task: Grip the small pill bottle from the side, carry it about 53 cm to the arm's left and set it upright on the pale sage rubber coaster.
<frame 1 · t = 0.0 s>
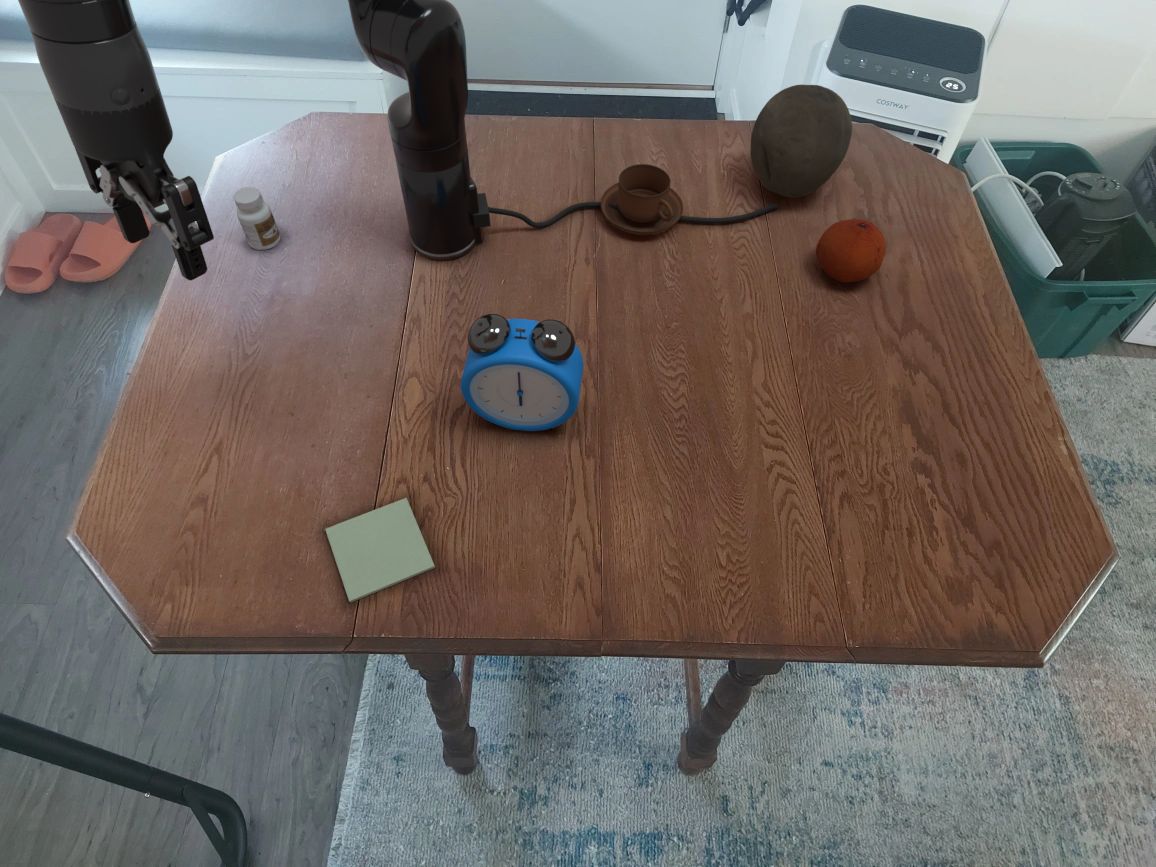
hand: (166, 256, 72), 22 cm above the table, tool pointing down, fingers open, 8 cm apart
cup and saucer: (640, 216, 111), on the table
pill bottle: (265, 241, 106), on the table
coaster: (379, 549, 79), on the table
alarm clock: (525, 413, 90), on the table
kiwi: (786, 186, 116), on the table
fruit: (841, 271, 106), on the table
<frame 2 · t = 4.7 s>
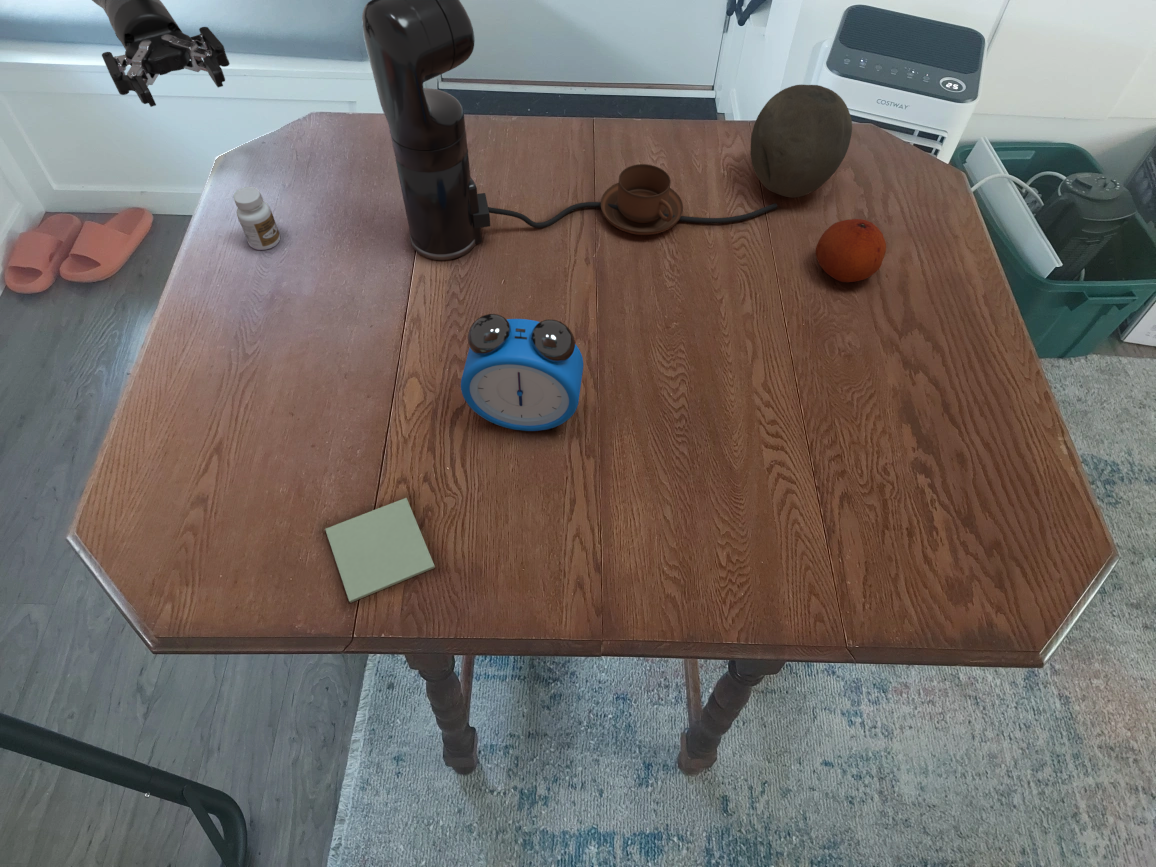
hand: (185, 89, 96), 18 cm above the table, tool horizontal, fingers open, 8 cm apart
nothing on the table moved.
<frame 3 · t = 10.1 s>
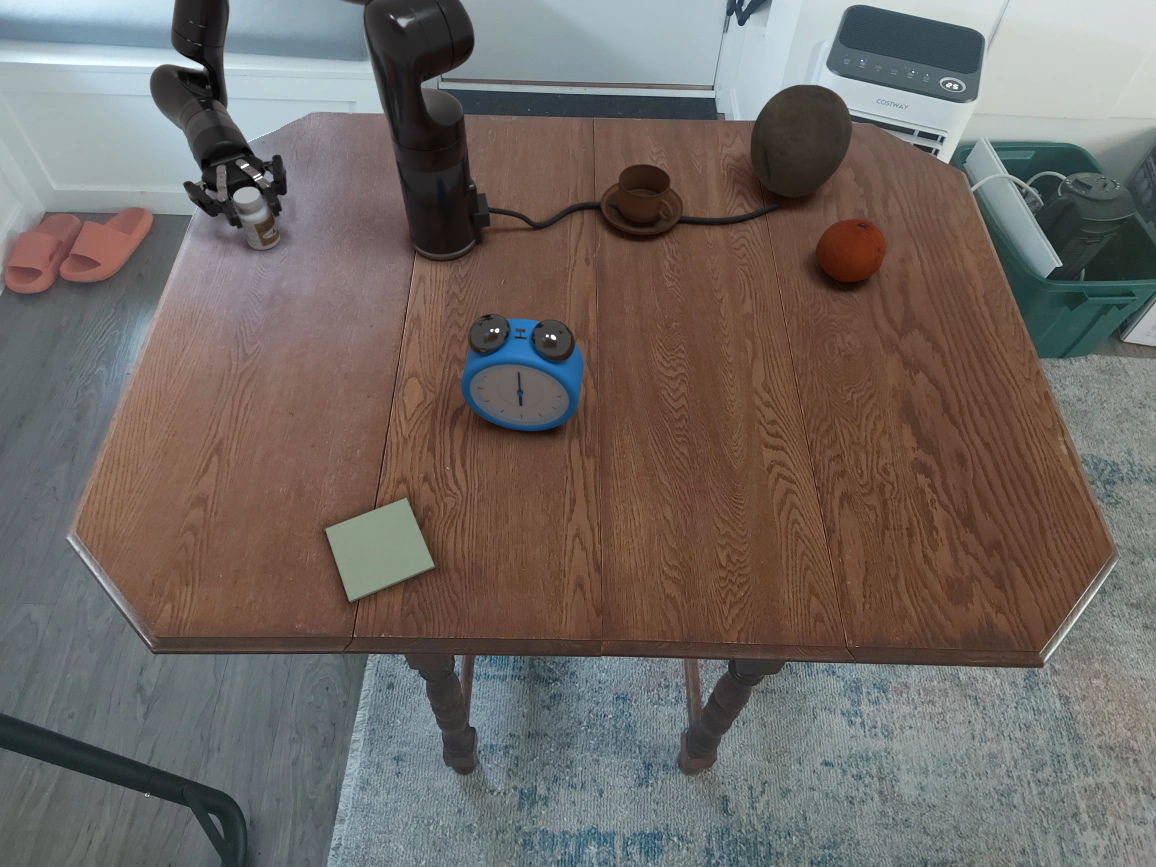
hand: (257, 216, 100), 6 cm above the table, tool horizontal, fingers closed on pill bottle, 4 cm apart
pill bottle: (265, 241, 106), on the table, touching gripper
everything else where it was.
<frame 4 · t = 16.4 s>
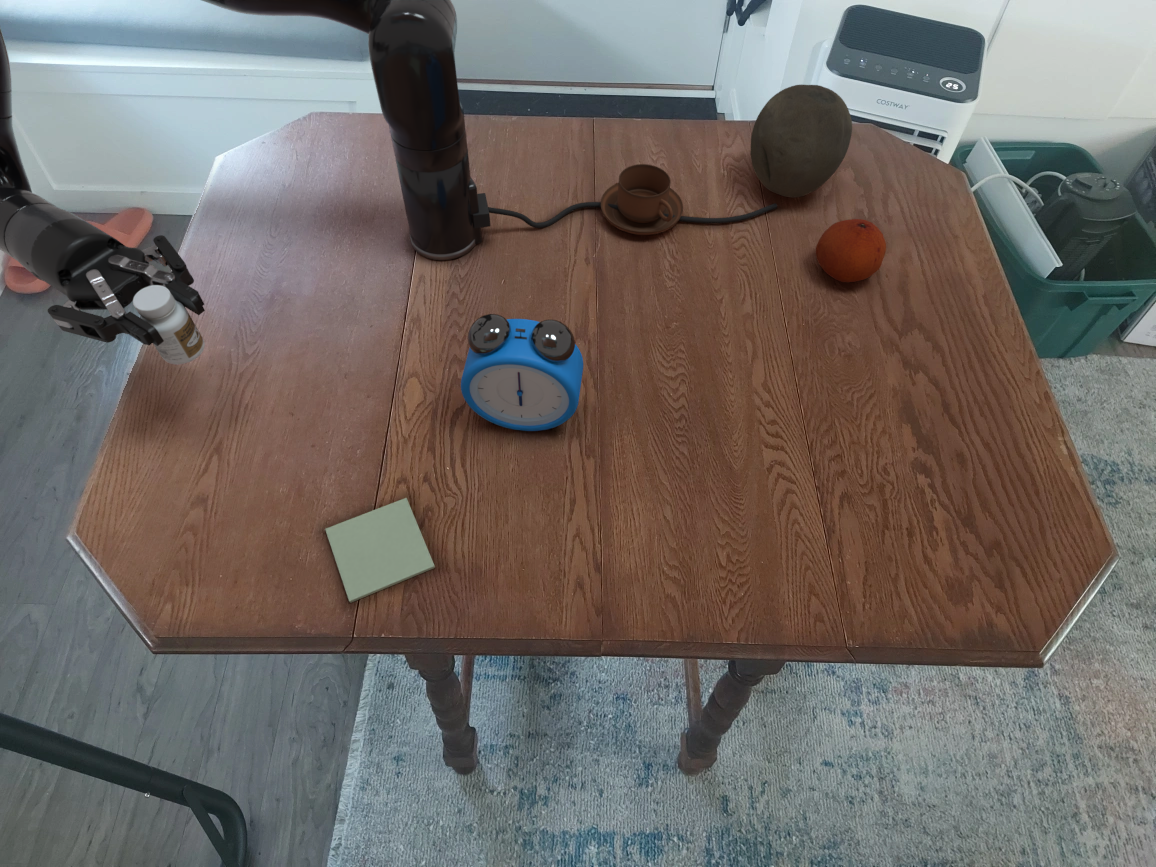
hand: (178, 321, 73), 18 cm above the table, tool horizontal, fingers closed on pill bottle, 4 cm apart
pill bottle: (184, 351, 79), point 11 cm above the table, touching gripper
everything else where it was.
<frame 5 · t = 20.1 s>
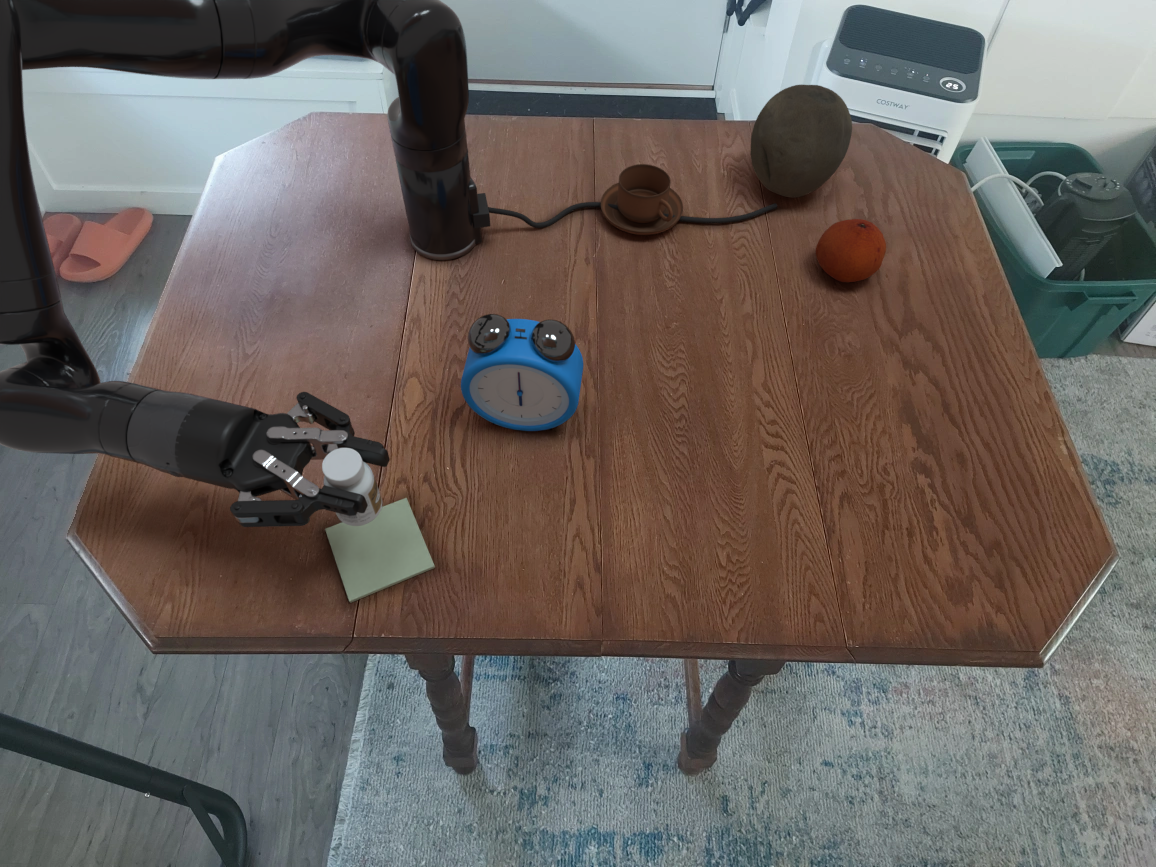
hand: (375, 480, 67), 15 cm above the table, tool horizontal, fingers closed on pill bottle, 4 cm apart
pill bottle: (360, 507, 72), point 9 cm above the table, touching gripper
everything else where it was.
when the fingers open (7 cm above the table, at t = 22.7 s): pill bottle stays where it is, resting on coaster.
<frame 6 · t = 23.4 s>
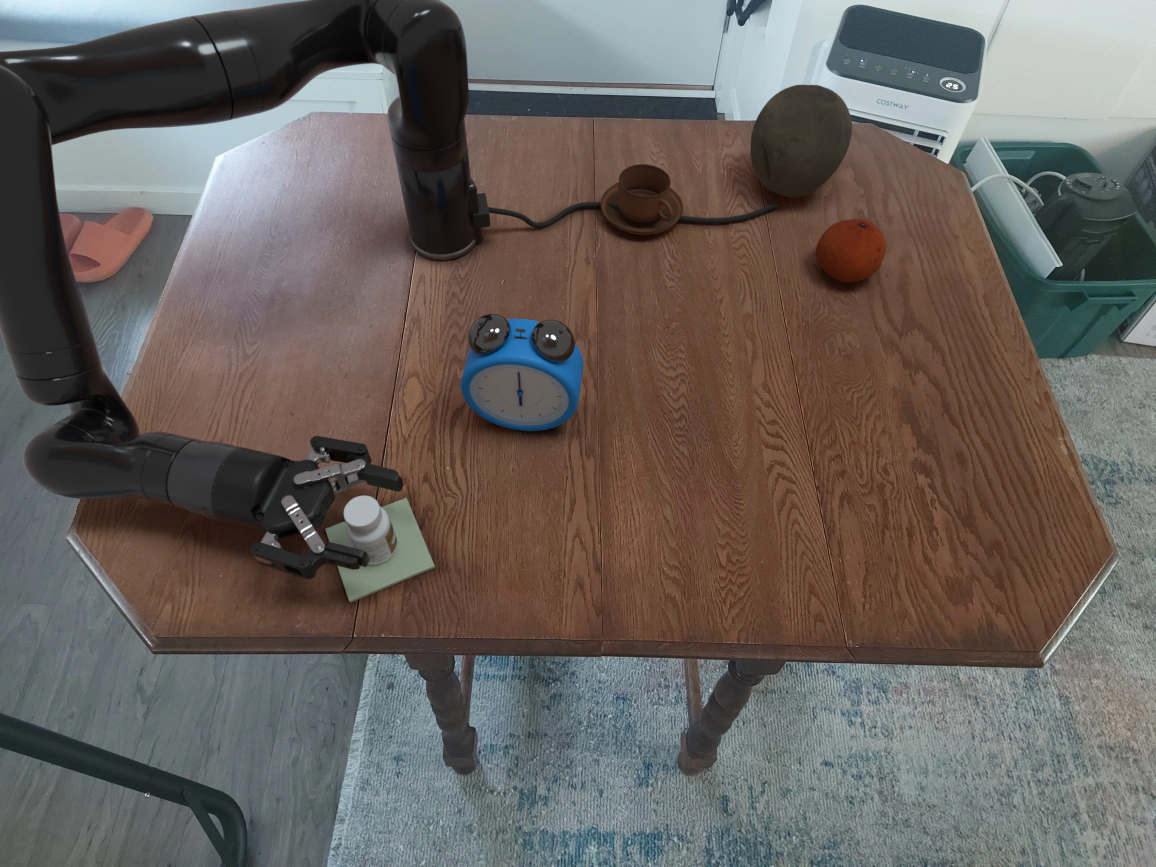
hand: (384, 520, 73), 7 cm above the table, tool horizontal, fingers open, 8 cm apart
pill bottle: (377, 547, 79), resting on coaster
everything else where it was.
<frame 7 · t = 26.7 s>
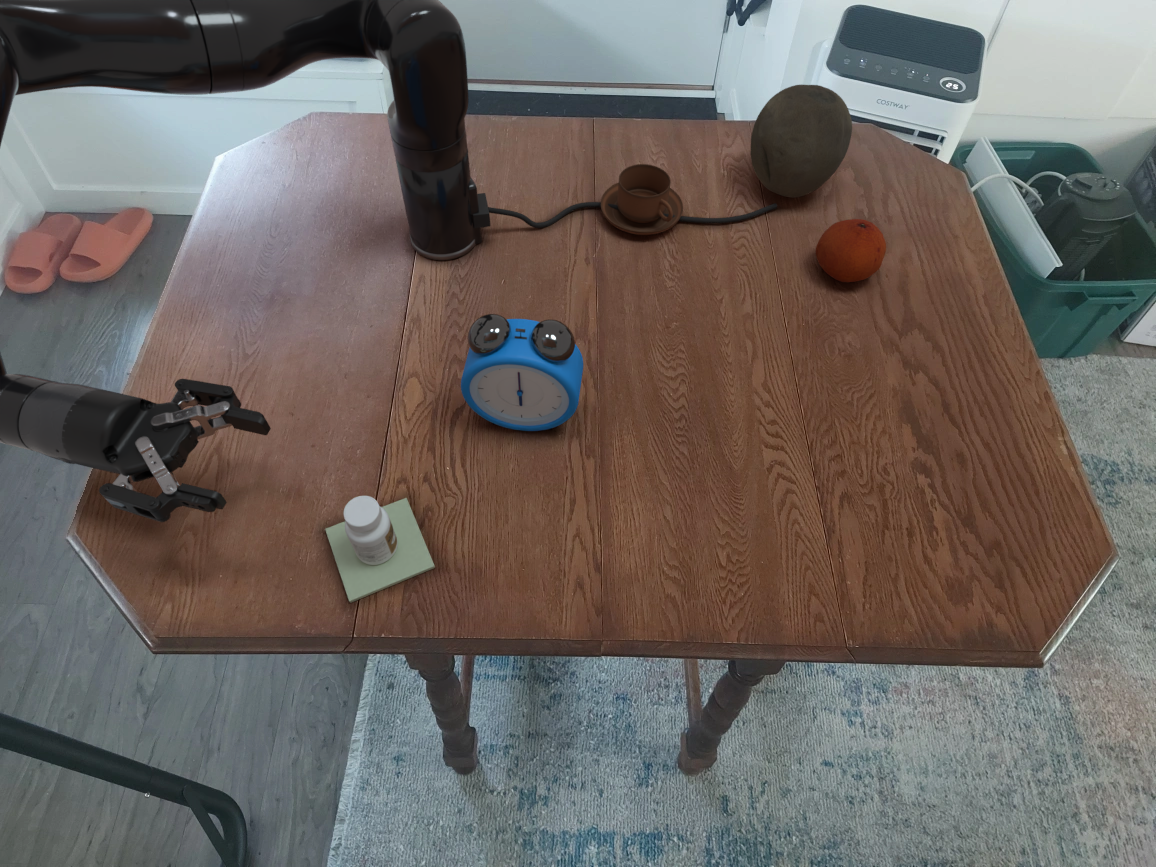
hand: (245, 462, 71), 12 cm above the table, tool horizontal, fingers open, 8 cm apart
nothing on the table moved.
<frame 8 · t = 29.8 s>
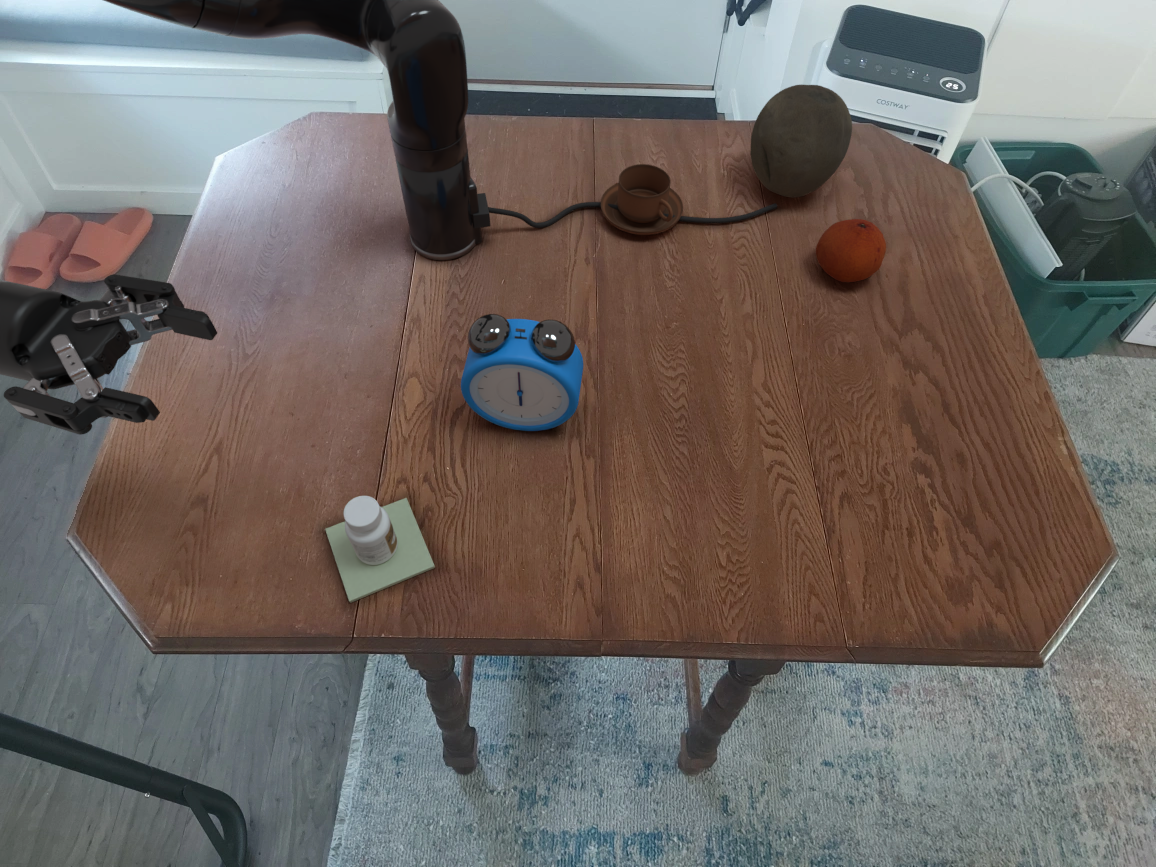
hand: (184, 367, 59), 26 cm above the table, tool horizontal, fingers open, 8 cm apart
nothing on the table moved.
at the end: pill bottle inside the target area on the coaster (0.2 cm from its centre), point 0.3 cm above the coaster's base; pill bottle tilted 0°; the gripper is holding nothing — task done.
